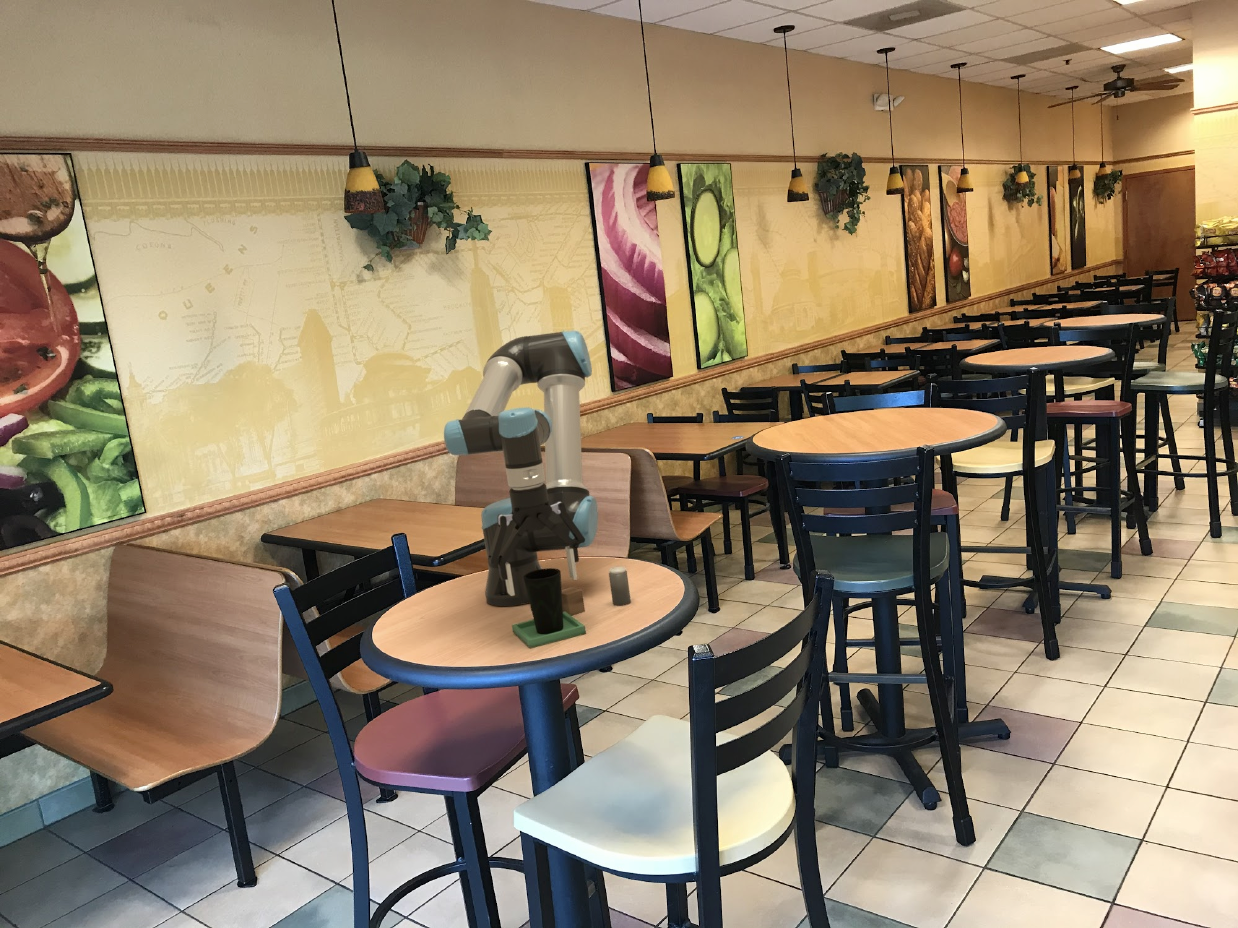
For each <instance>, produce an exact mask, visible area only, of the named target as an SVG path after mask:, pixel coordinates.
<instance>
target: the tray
mask: <svg viewBox="0 0 1238 928" xmlns="http://www.w3.org/2000/svg"><path fill="white" fill-rule="evenodd" d="M511 629H512V633H513V635H515V636H517V637H518V639H519V640H520V641H521V642H523V644H525V645H526V646H527V647H528V648H529V649H533V648H536V647H540V646H544V645H548V644H552V643H556V642H559V641H563V640H566V639H567V640H568V639H571V638H574V637H578V636H582V635H585V634H586V635H587V630H586V625H584V624H583V623H582V622H581V621H579V620H577V619H576V618H575V617H573V616H571V615H569V614H568V613H567V612H563V630H561V631H559V632H555V633H551V634H538V633H537V631H536V627H535V623H534V619H531V620H530V619H529V620H526V621H522V622H518V623H514V624H511Z"/></svg>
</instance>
